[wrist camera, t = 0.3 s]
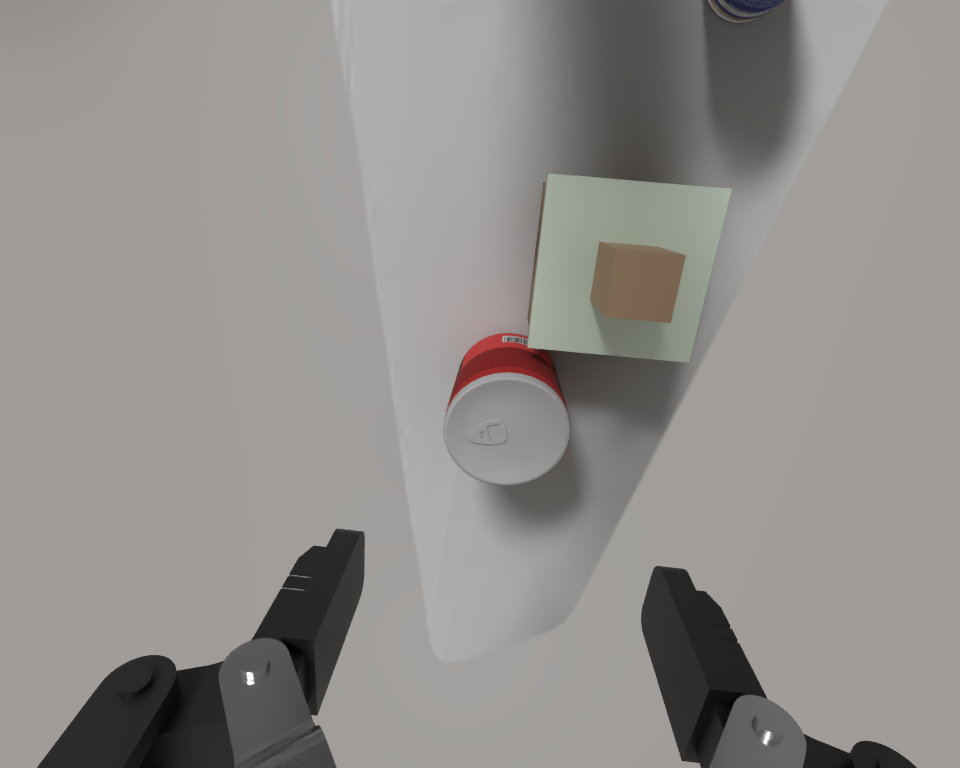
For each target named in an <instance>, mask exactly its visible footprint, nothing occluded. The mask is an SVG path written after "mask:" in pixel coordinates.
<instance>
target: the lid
mask: <svg viewBox="0 0 960 768" xmlns="http://www.w3.org/2000/svg"><path fill="white" fill-rule="evenodd" d="M731 191H732V189H727V188H715V187H703V186H692V185H680V184H668V183H657V182H645V181H633V180H621V179H610V178H598V177H586V176H575V175H563V174H551V173H548V174H547V181H546V190H545V198H544V206H543V215H542V223H541V231H540V240H539V248H538V257H537V265H536V273H535V282H534V290H533V298H532V307H531V315H530V323H529V332H528V340H527V347H528V348H536V349H546V350H557V351H568V352H578V353H589V354H600V355H611V356H621V357H632V358H643V359H653V360H664V361H675V362H686V363H690V358H691V354H692V350H693V346H694V342H695V338H696V334H697V330H698V326H699V322H700V318H701V313H702V309H703V305H704V301H705V297H706V293H707V289H708V285H709V281H710V277H711V272H712V268H713V264H714V260H715V256H716V252H717V248H718V244H719V240H720V236H721V232H722V227H723V223H724V219H725V215H726V211H727V207H728V203H729V199H730V195H731Z"/></svg>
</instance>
